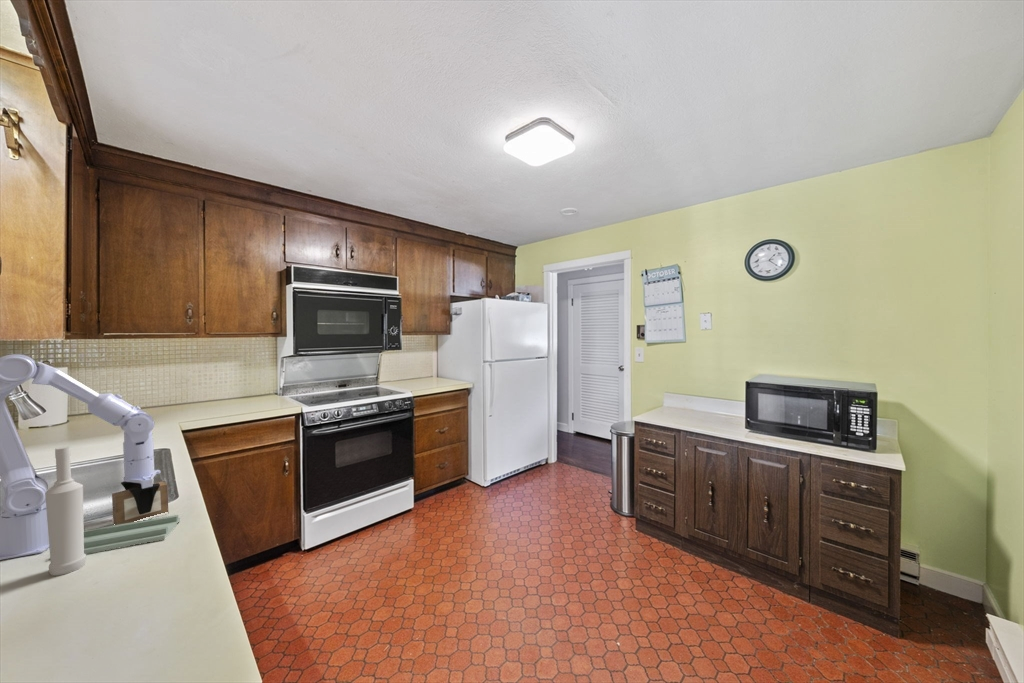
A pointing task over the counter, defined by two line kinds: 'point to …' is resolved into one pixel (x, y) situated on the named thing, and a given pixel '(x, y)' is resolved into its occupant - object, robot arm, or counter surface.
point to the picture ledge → (128, 534)
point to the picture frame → (127, 506)
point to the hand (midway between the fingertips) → (141, 509)
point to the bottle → (65, 518)
